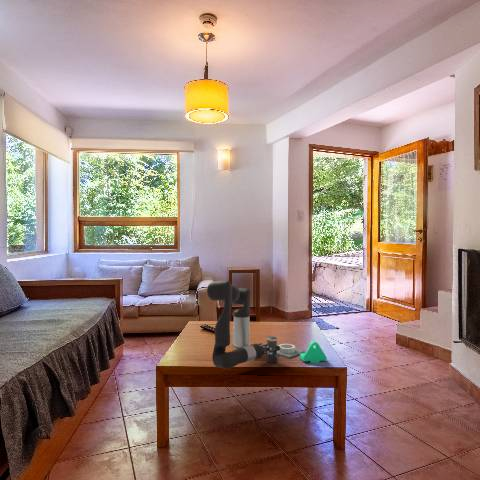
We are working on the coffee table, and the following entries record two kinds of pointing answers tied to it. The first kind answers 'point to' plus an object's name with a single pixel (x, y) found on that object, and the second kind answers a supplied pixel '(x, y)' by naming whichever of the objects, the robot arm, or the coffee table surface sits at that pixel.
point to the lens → (272, 343)
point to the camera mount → (313, 353)
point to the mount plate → (297, 352)
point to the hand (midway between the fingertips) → (275, 346)
